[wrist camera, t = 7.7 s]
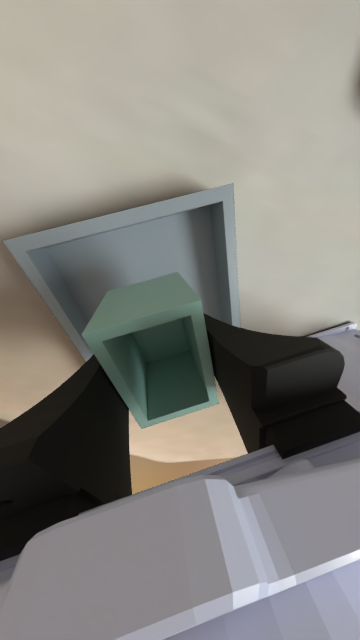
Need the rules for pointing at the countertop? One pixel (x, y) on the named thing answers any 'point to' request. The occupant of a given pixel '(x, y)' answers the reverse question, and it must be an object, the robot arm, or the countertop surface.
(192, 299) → the small crate
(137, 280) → the grey tray
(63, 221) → the countertop surface
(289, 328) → the countertop surface
